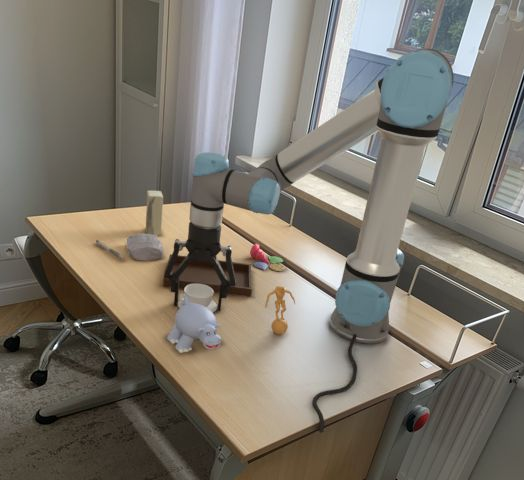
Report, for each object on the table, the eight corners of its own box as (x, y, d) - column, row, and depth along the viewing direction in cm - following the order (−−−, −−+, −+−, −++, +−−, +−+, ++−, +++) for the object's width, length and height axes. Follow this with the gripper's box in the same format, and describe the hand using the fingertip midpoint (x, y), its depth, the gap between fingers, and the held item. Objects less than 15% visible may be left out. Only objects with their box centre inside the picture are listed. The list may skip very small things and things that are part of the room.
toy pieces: (243, 265, 164) (245, 251, 161) (252, 251, 173) (254, 238, 170) (281, 274, 162) (284, 261, 160) (289, 260, 171) (291, 247, 169)
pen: (97, 242, 161) (97, 238, 161) (125, 261, 154) (125, 256, 154) (94, 243, 161) (94, 239, 160) (122, 262, 154) (122, 257, 153)
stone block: (132, 266, 156) (166, 259, 159) (128, 251, 153) (163, 243, 156) (125, 250, 165) (157, 243, 168) (121, 235, 162) (155, 228, 165)
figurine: (267, 339, 131) (275, 296, 125) (256, 326, 136) (263, 283, 129) (296, 335, 135) (305, 292, 128) (284, 322, 139) (293, 280, 133)
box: (145, 229, 175) (146, 189, 168) (159, 229, 176) (160, 190, 169) (147, 236, 171) (148, 195, 164) (161, 236, 172) (163, 196, 165)
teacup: (207, 295, 145) (209, 279, 143) (223, 314, 138) (225, 297, 136) (171, 299, 141) (172, 283, 138) (186, 319, 134) (187, 302, 131)
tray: (250, 296, 148) (251, 289, 147) (162, 286, 146) (163, 278, 144) (250, 271, 161) (251, 264, 160) (169, 261, 158) (170, 254, 157)
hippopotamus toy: (191, 367, 118) (195, 330, 112) (160, 332, 127) (162, 296, 122) (233, 356, 124) (239, 320, 118) (200, 323, 133) (204, 288, 128)
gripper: (253, 223, 131) (242, 303, 144) (158, 210, 129) (154, 293, 141) (254, 235, 125) (242, 318, 137) (153, 222, 123) (150, 307, 135)
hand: (197, 305), depth 139 cm, fingers open, 10 cm apart
